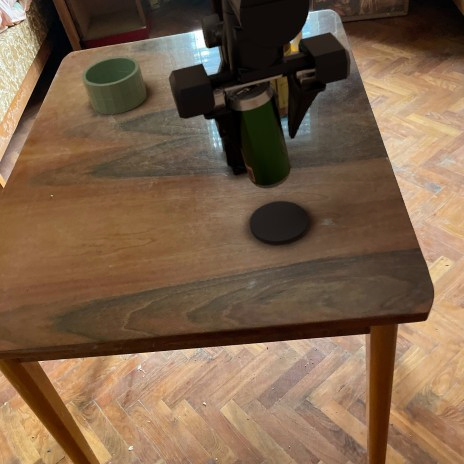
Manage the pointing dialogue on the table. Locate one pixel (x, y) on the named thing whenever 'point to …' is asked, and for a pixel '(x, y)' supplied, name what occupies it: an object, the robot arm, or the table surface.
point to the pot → (114, 85)
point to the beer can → (260, 134)
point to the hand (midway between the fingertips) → (264, 143)
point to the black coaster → (279, 223)
